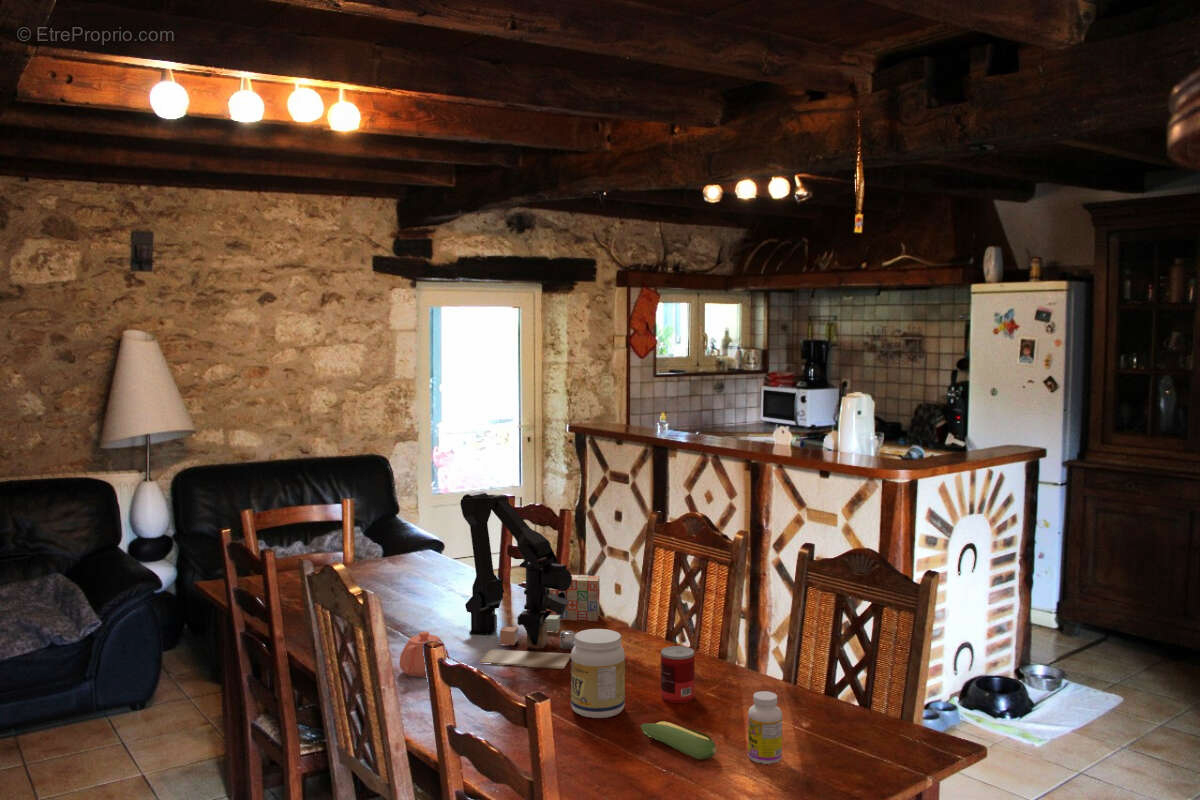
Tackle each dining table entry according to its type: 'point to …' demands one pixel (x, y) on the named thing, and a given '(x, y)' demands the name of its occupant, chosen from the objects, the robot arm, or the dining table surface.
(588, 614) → the stack of blocks
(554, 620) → the sage green block
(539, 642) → the walnut block
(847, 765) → the dining table surface
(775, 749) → the supplement bottle
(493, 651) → the oak board
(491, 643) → the dining table surface
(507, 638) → the terracotta cube
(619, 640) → the supplement tub
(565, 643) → the metal tin
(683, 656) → the canned food
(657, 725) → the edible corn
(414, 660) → the terracotta lidded pot
